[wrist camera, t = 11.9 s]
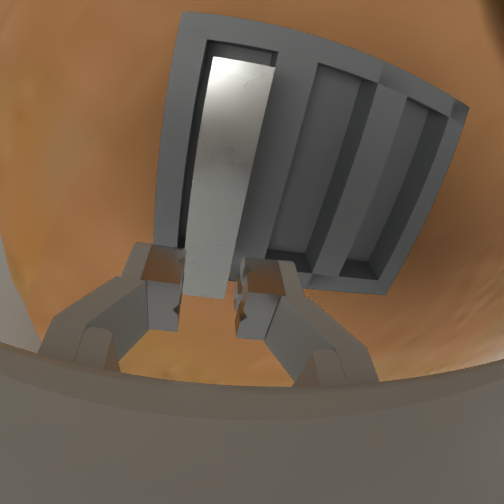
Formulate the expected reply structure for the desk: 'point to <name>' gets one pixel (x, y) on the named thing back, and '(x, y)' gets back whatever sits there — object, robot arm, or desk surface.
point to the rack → (313, 153)
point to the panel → (223, 171)
